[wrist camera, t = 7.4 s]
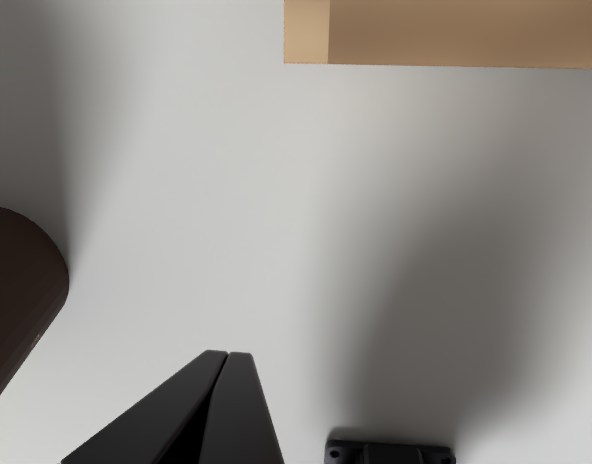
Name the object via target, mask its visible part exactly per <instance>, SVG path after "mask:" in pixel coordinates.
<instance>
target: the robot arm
mask: <svg viewBox="0 0 592 464" xmlns="http://www.w3.org/2000/svg"><path fill="white" fill-rule="evenodd" d="M333 450H336V452H334V451H333ZM445 457H447V458H445ZM443 458H445V459H443ZM61 464H285V463H284V460H283V457H282V453H281V450H280V447H279V443H278V440H277V436H276V433H275V430H274V426H273V423H272V420H271V416H270V413H269V410H268V406H267V403H266V400H265V396H264V393H263V390H262V386H261V383H260V380H259V376H258V373H257V370H256V366H255V363H254V360H253V356H252V355H251V354H250V353H243V352H231V353H229V354H228V352H226V351H218V350H206V351H204V352H203V353H202V354H200V355H199V356H198V357H196V358H195V359H194V360H192V361H191V362H190V363H188V364H187V365H186V366H184V367H183V368H182V369H181V370H179V371H178V372H177V373H175V374H174V375H173V376H171V377H170V378H169V379H167V380H166V381H165V382H163V383H162V384H161V385H160V386H158V387H157V388H156V389H154V390H153V391H152V392H150V393H149V394H148V395H146V396H145V397H144V398H142V399H141V400H140V401H139V402H137V403H136V404H135V405H133V406H132V407H131V408H129V409H128V410H127V411H125V412H124V413H123V414H121V415H120V416H119V417H118V418H116V419H115V420H114V421H112V422H111V423H110V424H108V425H107V426H106V427H104V428H103V429H102V430H100V431H99V432H98V433H97V434H95V435H94V436H93V437H91V438H90V439H89V440H87V441H86V442H85V443H83V444H82V445H81V446H79V447H78V448H77V449H76V450H74V451H73V452H72V453H70V454H69V455H68V456H66V457H65V458H64V459H62V461H61ZM324 464H456V458H455V454H454V452H453V450H452V449H450V448H446V447H433V446H417V445H401V444H385V443H369V442H353V441H338V440H333V441H329V442H328V443H327V444H326V445H325V456H324Z"/></svg>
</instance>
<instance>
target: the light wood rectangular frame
mask: <svg viewBox="0 0 592 464" xmlns="http://www.w3.org/2000/svg"><path fill="white" fill-rule="evenodd" d="M284 63H302V64H356V65H410V66H464V67H518V68H572V69H592V0H284Z"/></svg>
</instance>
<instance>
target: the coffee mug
mask: <svg viewBox="0 0 592 464" xmlns="http://www.w3.org/2000/svg"><path fill="white" fill-rule="evenodd" d="M68 289H69V278H68V270H67V267H66V264H65V261H64V258H63V256H62V255H61V253H60V251H59V249H58V247H57V246H56V244H55V243H54V242H53V241H52V239H51V238H50V237H49V236H48V234H46V233H45V232H44V231H43V230H42V229H41V228H40V227H39V226H38V225H37V224H35V223H34V222H32V221H31V220H29V219H28V218H26V217H24V216H23V215H20V214H18V213H16V212H14V211H12V210H9V209H5V208H2V207H0V395H1V393H2V392H3V390H4V389H5V388H6V386H7V385H8V383H9V382H10V380H11V379H12V378H13V376H14V375H15V373H16V372H17V371H18V369H19V368H20V366H21V365H22V364H23V362H24V361H25V359H26V358H27V357H28V355H29V354H30V352H31V351H32V350H33V348H34V347H35V345H36V344H37V343H38V341H39V340H40V338H41V337H42V336H43V334H44V333H45V331H46V330H47V329H48V327H49V326H50V324H51V323H52V322H53V320H54V319H55V317H56V316H57V314H58V313H59V312H60V310H61V309H62V307H63V306H64V304H65V301H66V298H67V295H68Z"/></svg>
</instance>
